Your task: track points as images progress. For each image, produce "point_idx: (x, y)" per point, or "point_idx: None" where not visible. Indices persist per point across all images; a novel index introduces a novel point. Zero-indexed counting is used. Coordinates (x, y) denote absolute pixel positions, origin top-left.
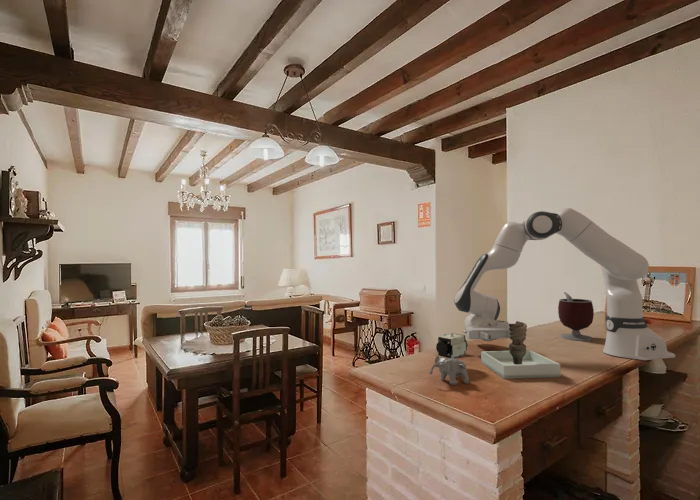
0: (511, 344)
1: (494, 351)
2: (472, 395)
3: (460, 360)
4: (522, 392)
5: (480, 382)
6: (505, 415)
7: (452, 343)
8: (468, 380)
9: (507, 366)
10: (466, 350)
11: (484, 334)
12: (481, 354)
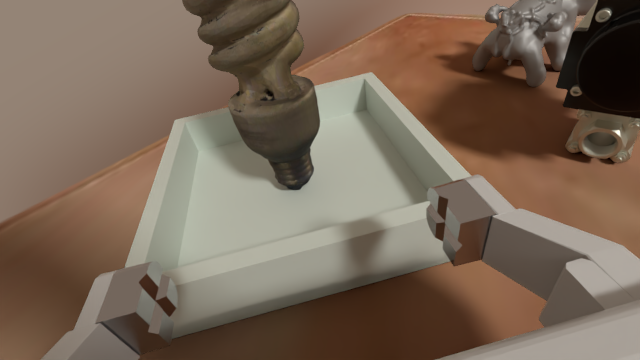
0: (300, 89)
1: (395, 217)
2: (449, 43)
3: (513, 10)
4: (345, 72)
5: (442, 82)
6: (390, 25)
7: None
8: (473, 57)
9: (359, 77)
10: (557, 84)
11: (522, 217)
12: None
